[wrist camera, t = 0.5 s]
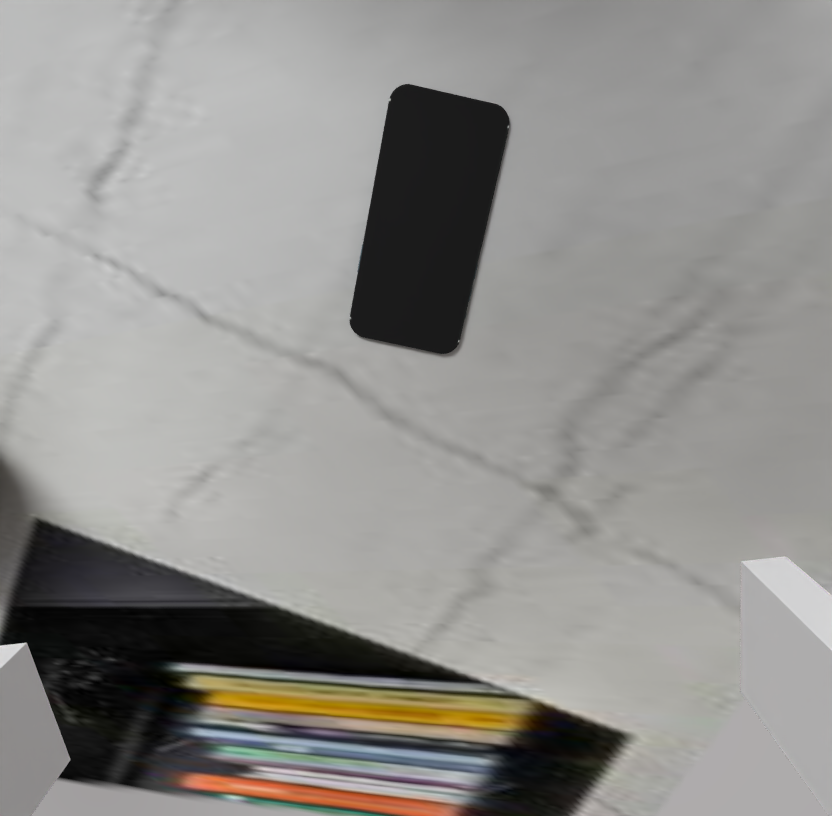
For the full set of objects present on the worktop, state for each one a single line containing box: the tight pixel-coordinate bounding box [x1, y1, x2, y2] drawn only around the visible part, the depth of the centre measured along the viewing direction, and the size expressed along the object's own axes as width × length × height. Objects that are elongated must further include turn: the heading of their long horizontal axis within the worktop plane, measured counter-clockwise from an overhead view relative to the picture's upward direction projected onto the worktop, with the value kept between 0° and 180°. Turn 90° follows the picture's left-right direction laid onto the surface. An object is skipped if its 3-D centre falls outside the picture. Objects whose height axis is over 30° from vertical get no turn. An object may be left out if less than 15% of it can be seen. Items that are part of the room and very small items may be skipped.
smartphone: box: [350, 84, 509, 354], centre depth 35 cm, size 7×1×15 cm
